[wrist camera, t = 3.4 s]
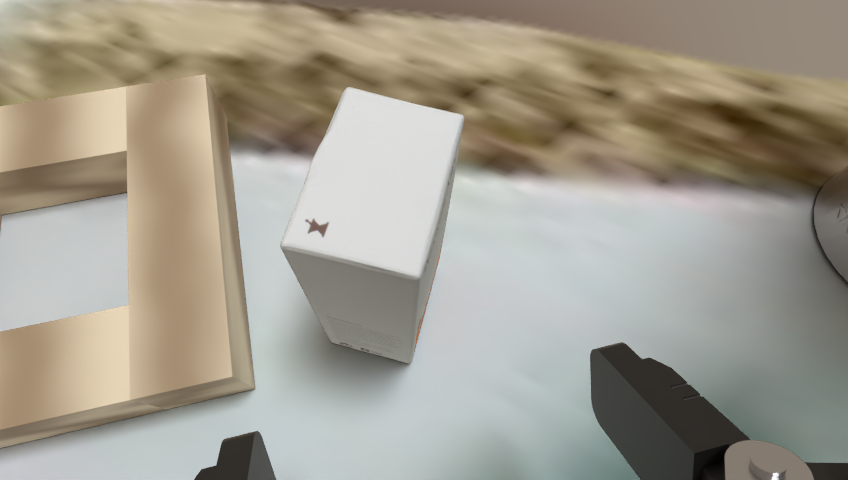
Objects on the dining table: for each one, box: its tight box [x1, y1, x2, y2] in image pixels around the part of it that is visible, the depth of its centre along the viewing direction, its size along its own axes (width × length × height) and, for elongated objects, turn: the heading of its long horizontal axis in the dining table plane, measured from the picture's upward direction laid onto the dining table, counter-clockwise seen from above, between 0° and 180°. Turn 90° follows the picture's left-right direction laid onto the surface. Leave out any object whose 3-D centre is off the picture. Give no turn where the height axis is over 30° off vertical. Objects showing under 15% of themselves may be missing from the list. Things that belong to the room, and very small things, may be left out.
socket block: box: [0, 75, 255, 448], centre depth 25 cm, size 16×16×4 cm
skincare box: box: [280, 87, 464, 363], centre depth 21 cm, size 6×4×12 cm
